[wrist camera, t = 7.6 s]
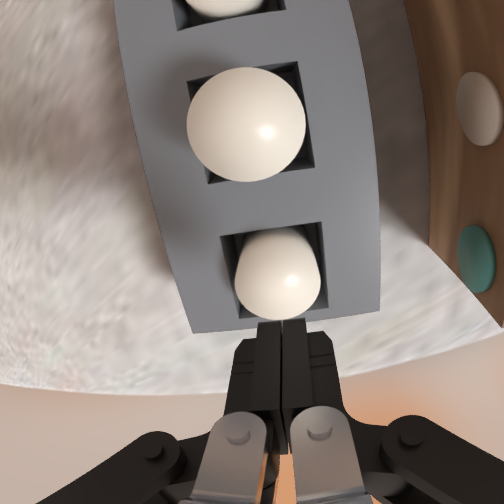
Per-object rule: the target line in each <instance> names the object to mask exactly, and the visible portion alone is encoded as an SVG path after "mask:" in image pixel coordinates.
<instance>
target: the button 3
mask: <svg viewBox="0 0 504 504" xmlns="http://www.w3.org/2000/svg"><path fill="white" fill-rule="evenodd" d="M235 290H236V294H237V296H238V298H239V300H240V302H241V303H242V304H243V305H244V307H245V308H246V309H248V310H249V311H250V312H252V313H253V314H255V315H257V316H259V317H262V318H265V319H271V320H284V319H289V318H293V317H295V316H298V315H300V314H301V313H303V312H304V311H306V310H307V309H308V308H309V307H310V306H311V305H312V304H313V303H314V301H315V300H316V298H317V296H318V294H319V290H320V274H319V270H318V267H317V263H316V259H315V255H314V252H313V248H312V244H311V241H310V238H309V235H308V233H307V231H306V230H305V228H304V227H303V226H302V225H301V224H299V225H292V226H285V227H278V228H271V229H264V230H257V231H250V232H247V233H246V234H245V237H244V240H243V244H242V248H241V253H240V258H239V262H238V267H237V271H236V276H235Z"/></svg>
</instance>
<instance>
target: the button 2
mask: <svg viewBox="0 0 504 504" xmlns="http://www.w3.org/2000/svg"><path fill="white" fill-rule="evenodd" d="M305 126H306V122H305V114H304V109H303V106H302V104H301V101H300V99H299V97H298V96H297V94H296V93H295V91H294V90H293V89H292V87H291V86H290V85H289V84H288V83H287V82H285V81H284V80H283V79H282V78H280V77H279V76H277V75H275V74H273V73H271V72H269V71H266V70H263V69H259V68H252V67H240V68H234V69H230V70H226V71H224V72H221V73H219V74H217V75H215V76H214V77H212V78H211V79H209V80H208V81H207V82H206V83H205V84H204V85H203V86H202V87H201V88H200V89H199V90H198V92H197V93H196V95H195V96H194V98H193V100H192V102H191V104H190V107H189V111H188V115H187V134H188V139H189V142H190V145H191V147H192V149H193V151H194V153H195V155H196V156H197V158H198V159H199V160H200V161H201V163H203V164H204V165H205V166H206V167H207V168H208V169H209V170H211V171H212V172H214V173H215V174H217V175H219V176H221V177H224V178H226V179H230V180H233V181H240V182H252V181H258V180H263V179H266V178H269V177H271V176H273V175H275V174H277V173H279V172H280V171H281V170H283V169H284V168H285V167H286V166H288V165H289V164H290V163H291V161H292V160H293V159H294V158H295V156H296V155H297V153H298V152H299V150H300V148H301V145H302V143H303V139H304V135H305Z"/></svg>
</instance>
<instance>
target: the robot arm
mask: <svg viewBox="0 0 504 504" xmlns="http://www.w3.org/2000/svg"><path fill="white" fill-rule="evenodd" d="M288 443H289V447H290V453H291V454H292V456H293V467H294V477H295V489H296V501H297V504H373V501H372V499H371V496H370V495H372V496H373V497H374V498H375V499H376V500H378V501H379V502H381V503H382V504H504V461H502V460H500V459H498V458H496V457H494V456H493V455H491V454H489V453H487V452H485V451H483V450H481V449H480V448H478V447H476V446H474V445H472V444H471V443H469V442H467V441H465V440H464V439H462V438H460V437H458V436H456V435H455V434H452V433H451V432H449V431H448V430H446V429H444V428H442V427H441V426H439V425H437V424H436V423H434V422H432V421H430V420H429V419H427V418H425V417H422V416H417V415H408V416H403V417H400V418H398V419H396V420H394V421H393V422H391V423H390V424H389V425H388V426H380V425H370V424H364V423H361V422H359V421H357V420H355V419H353V418H352V417H351V416H350V415H349V414H348V413H347V412H346V410H345V408H344V406H343V401H342V395H341V389H340V383H339V377H338V371H337V366H336V360H335V356H334V349H333V344H332V340H331V339H330V338H329V337H328V336H327V335H326V333H325V332H324V331H319V332H311V333H307V330H306V321H305V317H303V318H294V319H285V320H283V327H282V322H281V320H276V321H267V322H258V327H257V337H256V338H252V339H243V340H242V342H241V343H240V344H239V346H238V347H237V348H236V350H235V353H234V359H233V365H232V370H231V376H230V382H229V388H228V393H227V399H226V405H225V410H224V415H223V417H222V418H220V419H219V420H218V421H217V422H216V423H215V424H214V426H213V427H212V429H211V431H209V432H208V433H206V434H203V435H201V436H197V437H193V438H188V439H184V440H179V441H177V440H176V439H175V437H173V436H172V435H171V434H168V433H166V432H161V431H155V432H149V433H146V434H144V435H142V436H140V437H139V438H137V439H136V440H134V441H133V442H132V443H130V444H129V445H127V446H126V447H124V448H123V449H122V450H120V451H119V452H117V453H116V454H114V455H113V456H111V457H110V458H109V459H107V460H105V461H104V462H102V463H101V464H100V465H98V466H96V467H95V468H93V469H92V470H90V471H89V472H87V473H86V474H84V475H82V476H81V477H79V478H78V479H76V480H75V481H73V482H71V483H70V484H68V485H67V486H65V487H63V488H62V489H60V490H58V491H57V492H55V493H53V494H52V495H50V496H48V497H47V498H45V499H43V500H42V501H40V502H38V503H36V504H276V497H277V489H278V482H279V465H280V455H283V454H288Z"/></svg>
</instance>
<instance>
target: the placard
mask: <svg viewBox="0 0 504 504" xmlns="http://www.w3.org/2000/svg"><path fill="white" fill-rule="evenodd" d="M403 1H404V5H405V8H406V12H407V16H408V20H409V24H410V28H411V32H412V37H413V41H414V46H415V51H416V56H417V61H418V67H419V73H420V79H421V85H422V92H423V100H424V108H425V117H426V127H427V139H428V153H429V175H430V228H429V247H430V248H431V249H432V250H433V251H434V252H435V253H436V254H437V255H438V256H439V257H440V258H441V259H442V261H443V262H444V263H445V264H446V265H447V266H448V267H449V268H450V269H451V270H452V271H453V272H454V273H455V274H456V275H457V277H458V278H459V279H460V280H461V281H462V282H463V283H464V284H465V285H466V287H467V288H468V289H469V290H470V291H471V292H472V293H473V294H474V296H475V297H476V298H477V299H478V300H479V301H480V303H481V304H482V305H483V306H484V307H485V308H486V310H487V311H488V312H489V313H490V314H491V316H492V317H493V318H494V319H495V321H496V322H497V323H498V324H499V326H500V327H501V328H504V0H403Z"/></svg>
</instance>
